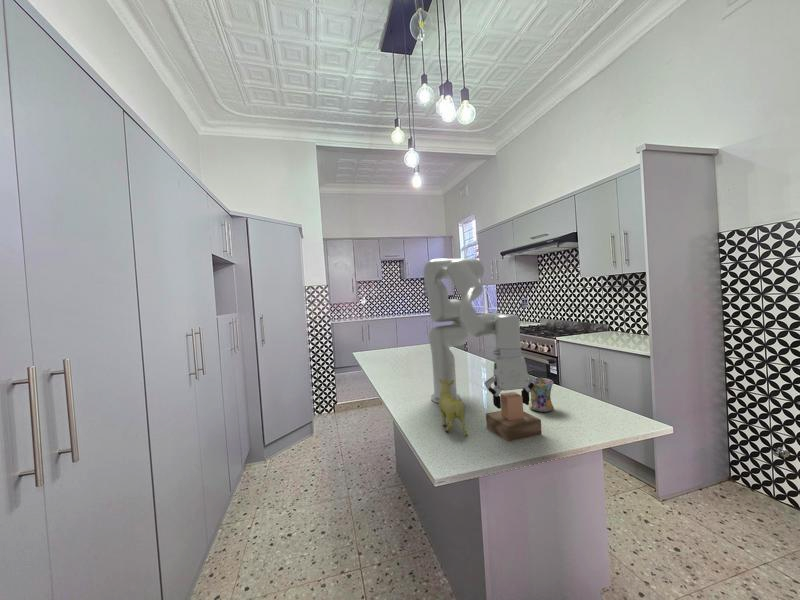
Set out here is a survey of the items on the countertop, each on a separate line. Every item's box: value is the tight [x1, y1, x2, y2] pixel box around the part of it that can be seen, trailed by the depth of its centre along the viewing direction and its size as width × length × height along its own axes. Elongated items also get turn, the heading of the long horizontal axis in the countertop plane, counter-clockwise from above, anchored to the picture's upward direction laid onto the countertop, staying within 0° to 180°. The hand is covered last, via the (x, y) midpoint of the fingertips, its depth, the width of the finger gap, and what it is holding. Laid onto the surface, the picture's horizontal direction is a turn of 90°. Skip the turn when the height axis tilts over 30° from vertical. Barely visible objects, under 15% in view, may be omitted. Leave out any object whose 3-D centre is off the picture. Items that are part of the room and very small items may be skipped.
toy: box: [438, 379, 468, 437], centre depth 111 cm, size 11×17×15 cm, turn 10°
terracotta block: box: [499, 391, 524, 420], centre depth 105 cm, size 5×5×7 cm
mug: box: [528, 377, 554, 413], centre depth 123 cm, size 12×9×11 cm
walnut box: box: [485, 410, 542, 443], centre depth 105 cm, size 12×12×5 cm
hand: (511, 405), depth 105 cm, fingers open, 9 cm apart
